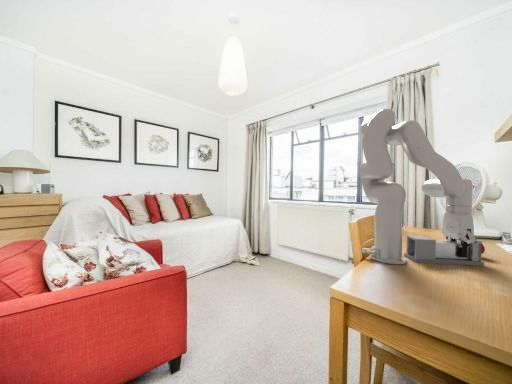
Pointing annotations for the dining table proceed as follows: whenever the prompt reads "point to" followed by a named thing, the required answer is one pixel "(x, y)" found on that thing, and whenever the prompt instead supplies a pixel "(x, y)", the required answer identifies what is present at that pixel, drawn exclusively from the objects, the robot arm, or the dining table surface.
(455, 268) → the dining table surface
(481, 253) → the onion
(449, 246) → the grey rectangular block
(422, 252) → the board
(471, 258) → the socket
